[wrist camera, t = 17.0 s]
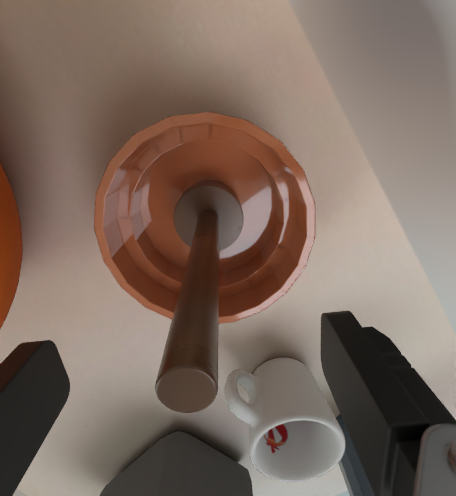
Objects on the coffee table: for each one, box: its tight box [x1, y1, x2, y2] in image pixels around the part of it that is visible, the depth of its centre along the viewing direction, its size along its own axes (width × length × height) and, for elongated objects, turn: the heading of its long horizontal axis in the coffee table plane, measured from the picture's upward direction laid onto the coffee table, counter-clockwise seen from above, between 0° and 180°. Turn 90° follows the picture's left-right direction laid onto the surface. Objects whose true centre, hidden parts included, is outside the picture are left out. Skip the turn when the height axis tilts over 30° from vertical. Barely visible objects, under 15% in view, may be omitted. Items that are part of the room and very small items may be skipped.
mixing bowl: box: [94, 112, 315, 323], centre depth 22 cm, size 14×14×6 cm
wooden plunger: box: [155, 180, 244, 413], centre depth 16 cm, size 5×5×18 cm
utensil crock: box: [336, 414, 375, 496], centre depth 31 cm, size 7×7×9 cm
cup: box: [225, 358, 345, 482], centre depth 28 cm, size 11×8×8 cm
